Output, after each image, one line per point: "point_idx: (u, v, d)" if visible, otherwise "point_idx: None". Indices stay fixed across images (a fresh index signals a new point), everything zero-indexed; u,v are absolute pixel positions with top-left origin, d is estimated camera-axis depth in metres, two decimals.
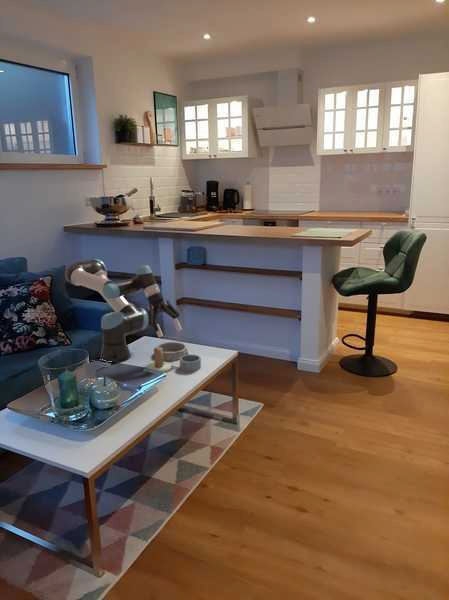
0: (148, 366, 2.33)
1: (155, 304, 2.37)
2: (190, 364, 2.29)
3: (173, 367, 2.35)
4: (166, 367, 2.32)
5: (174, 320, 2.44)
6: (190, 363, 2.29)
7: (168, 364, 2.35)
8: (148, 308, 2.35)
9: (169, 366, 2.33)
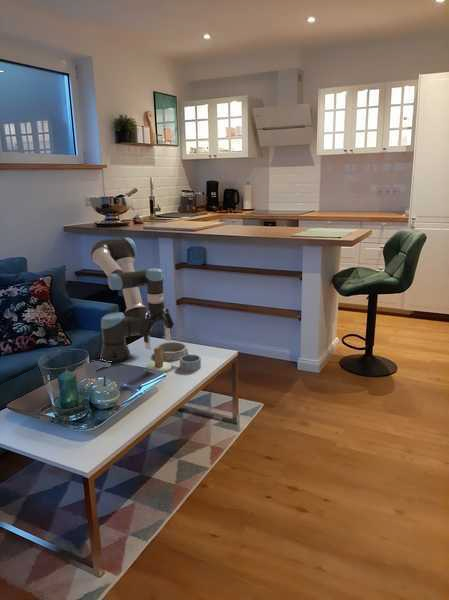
0: (148, 366, 2.33)
1: (154, 313, 2.24)
2: (190, 364, 2.29)
3: (173, 367, 2.35)
4: (166, 367, 2.32)
5: (166, 329, 2.34)
6: (190, 363, 2.29)
7: (168, 364, 2.35)
8: (145, 317, 2.21)
9: (169, 366, 2.33)
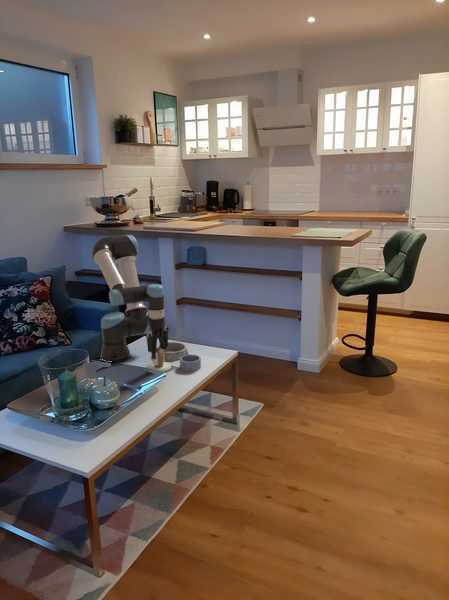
0: (148, 366, 2.33)
1: (154, 329, 2.25)
2: (190, 364, 2.29)
3: (173, 367, 2.35)
4: (166, 367, 2.32)
5: None
6: (190, 363, 2.29)
7: (168, 364, 2.35)
8: (147, 336, 2.24)
9: (169, 366, 2.33)
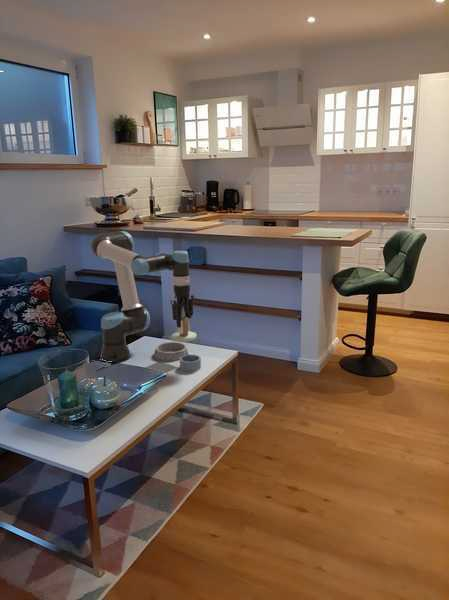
0: (173, 335, 2.30)
1: (179, 296, 2.22)
2: (190, 364, 2.29)
3: (173, 367, 2.35)
4: (191, 336, 2.28)
5: None
6: (190, 363, 2.29)
7: (193, 333, 2.31)
8: (172, 303, 2.21)
9: (194, 335, 2.29)
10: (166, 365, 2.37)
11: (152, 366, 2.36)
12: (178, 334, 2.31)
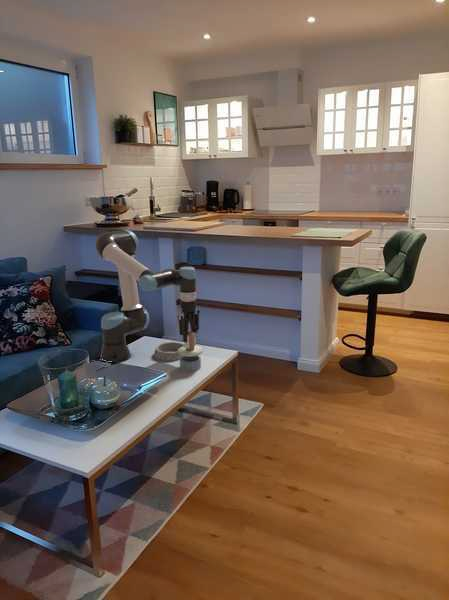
0: (179, 350, 2.32)
1: (186, 311, 2.24)
2: (190, 364, 2.29)
3: (173, 367, 2.35)
4: (197, 350, 2.31)
5: None
6: (190, 363, 2.29)
7: (199, 348, 2.34)
8: (179, 318, 2.23)
9: (200, 349, 2.32)
10: (166, 365, 2.37)
11: (152, 366, 2.36)
12: (184, 348, 2.34)
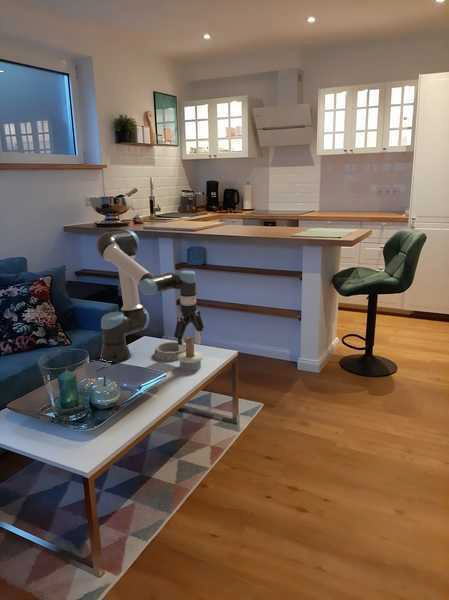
0: (179, 356, 2.33)
1: (186, 315, 2.25)
2: (190, 364, 2.29)
3: (173, 367, 2.35)
4: (197, 357, 2.32)
5: (196, 332, 2.35)
6: (190, 363, 2.29)
7: (199, 354, 2.35)
8: (178, 319, 2.23)
9: (200, 356, 2.33)
10: (166, 365, 2.37)
11: (152, 366, 2.36)
12: (184, 355, 2.35)
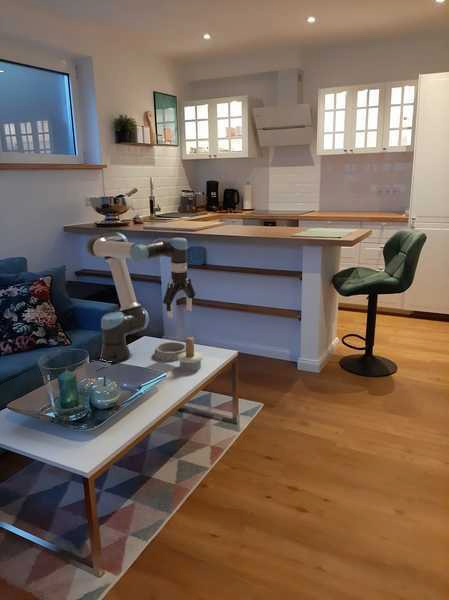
0: (179, 356, 2.33)
1: (177, 283, 2.25)
2: (190, 364, 2.29)
3: (173, 367, 2.35)
4: (197, 357, 2.32)
5: (188, 299, 2.36)
6: (190, 363, 2.29)
7: (199, 354, 2.35)
8: (169, 285, 2.23)
9: (200, 356, 2.33)
10: (166, 365, 2.37)
11: (152, 366, 2.36)
12: (184, 355, 2.35)
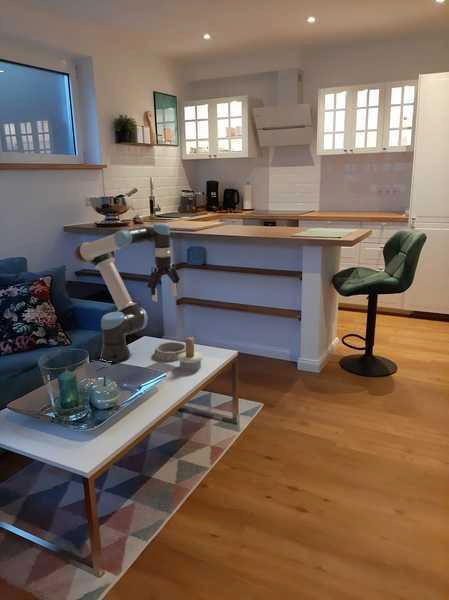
0: (179, 356, 2.33)
1: (161, 267, 2.31)
2: (190, 364, 2.29)
3: (173, 367, 2.35)
4: (197, 357, 2.32)
5: (172, 284, 2.42)
6: (190, 363, 2.29)
7: (199, 354, 2.35)
8: (153, 270, 2.29)
9: (200, 356, 2.33)
10: (166, 365, 2.37)
11: (152, 366, 2.36)
12: (184, 355, 2.35)
